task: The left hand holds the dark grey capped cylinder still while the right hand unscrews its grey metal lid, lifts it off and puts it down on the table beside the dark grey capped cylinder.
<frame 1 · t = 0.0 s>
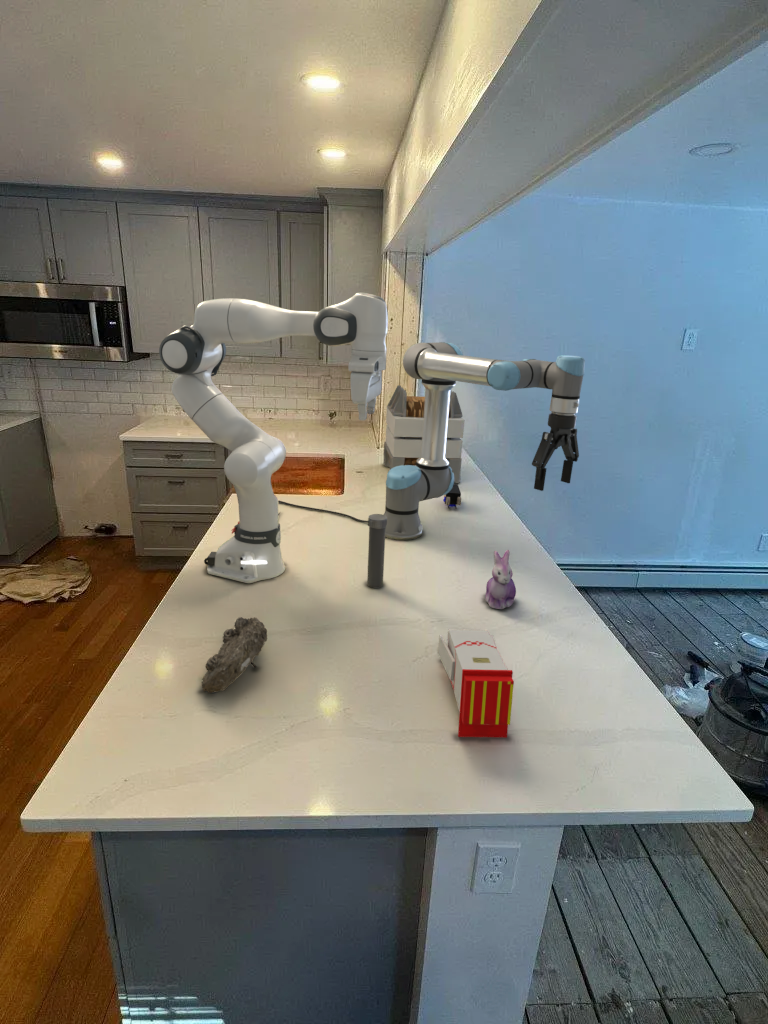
left hand: (366, 416, 147), 48 cm above the counter, tool pointing down, fingers open, 8 cm apart
right hand: (552, 485, 166), 28 cm above the counter, tool pointing down, fingers open, 13 cm apart
figurine: (499, 602, 156), on the counter
lid: (377, 518, 156), point 20 cm above the counter, screwed on, not yet turned
figurine character: (451, 505, 231), on the counter
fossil: (239, 666, 123), on the counter
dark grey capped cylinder: (375, 584, 163), on the counter
toy: (469, 691, 119), on the counter
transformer: (419, 473, 275), on the counter
feather: (278, 516, 211), on the counter
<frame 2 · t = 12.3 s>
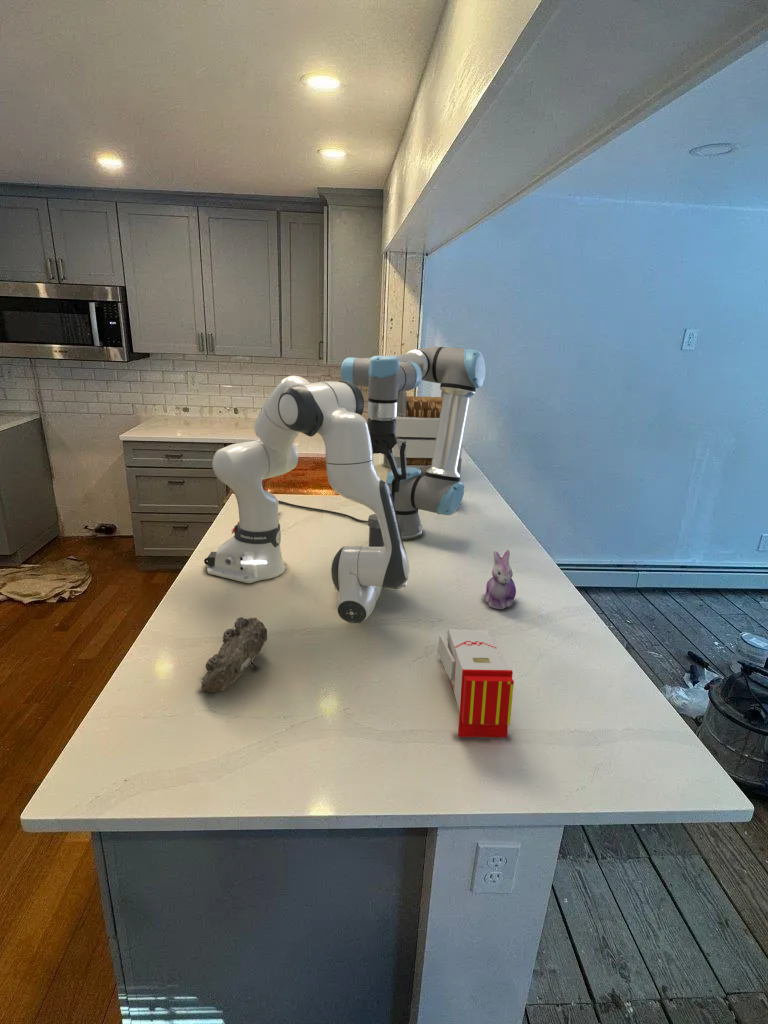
left hand: (376, 562, 161), 7 cm above the counter, tool horizontal, fingers closed on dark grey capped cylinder, 4 cm apart
right hand: (378, 501, 154), 25 cm above the counter, tool pointing down, fingers open, 7 cm apart
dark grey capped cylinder: (375, 584, 163), on the counter, touching left hand
everything else where it was.
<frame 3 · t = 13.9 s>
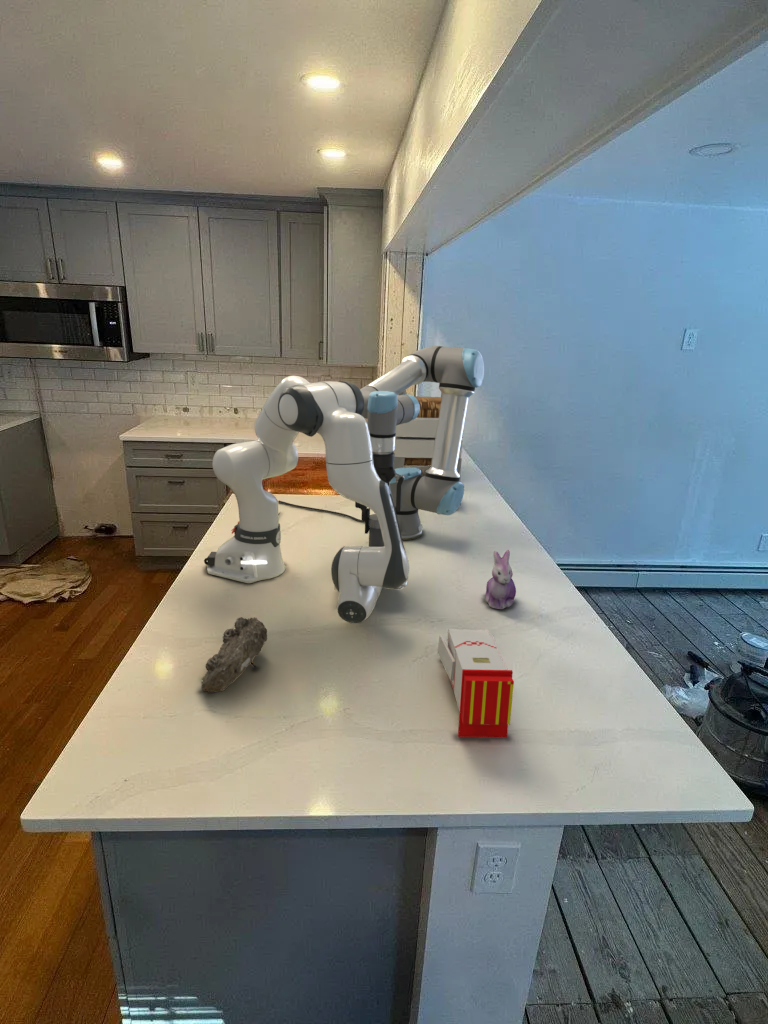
left hand: (376, 562, 161), 7 cm above the counter, tool horizontal, fingers closed on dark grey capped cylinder, 4 cm apart
right hand: (377, 532, 157), 16 cm above the counter, tool pointing down, fingers closed on lid, 5 cm apart
lid: (377, 518, 156), point 20 cm above the counter, screwed on, not yet turned, touching right hand
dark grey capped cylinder: (375, 584, 163), on the counter, touching left hand
everything else where it was.
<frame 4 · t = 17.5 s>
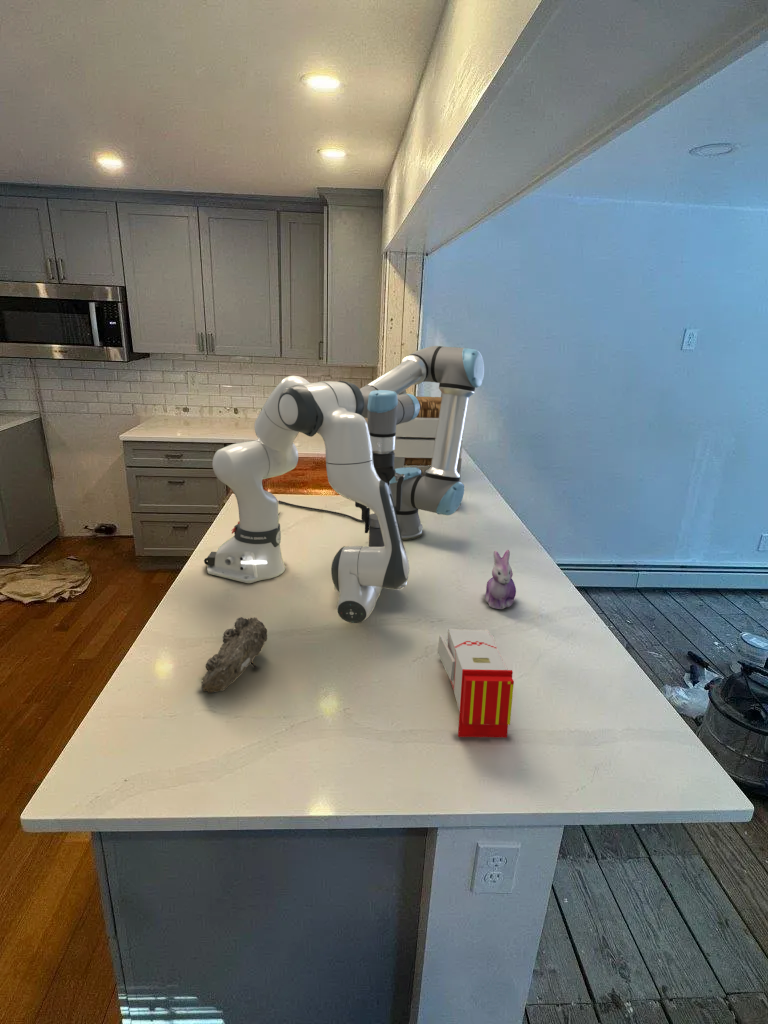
left hand: (376, 562, 161), 7 cm above the counter, tool horizontal, fingers closed on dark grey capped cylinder, 4 cm apart
right hand: (377, 532, 157), 16 cm above the counter, tool pointing down, fingers closed on lid, 5 cm apart
lid: (377, 517, 156), point 20 cm above the counter, turned 125° so far, risen 0.2 cm, still on its thread, touching right hand
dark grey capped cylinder: (375, 584, 163), on the counter, touching left hand
everything else where it was.
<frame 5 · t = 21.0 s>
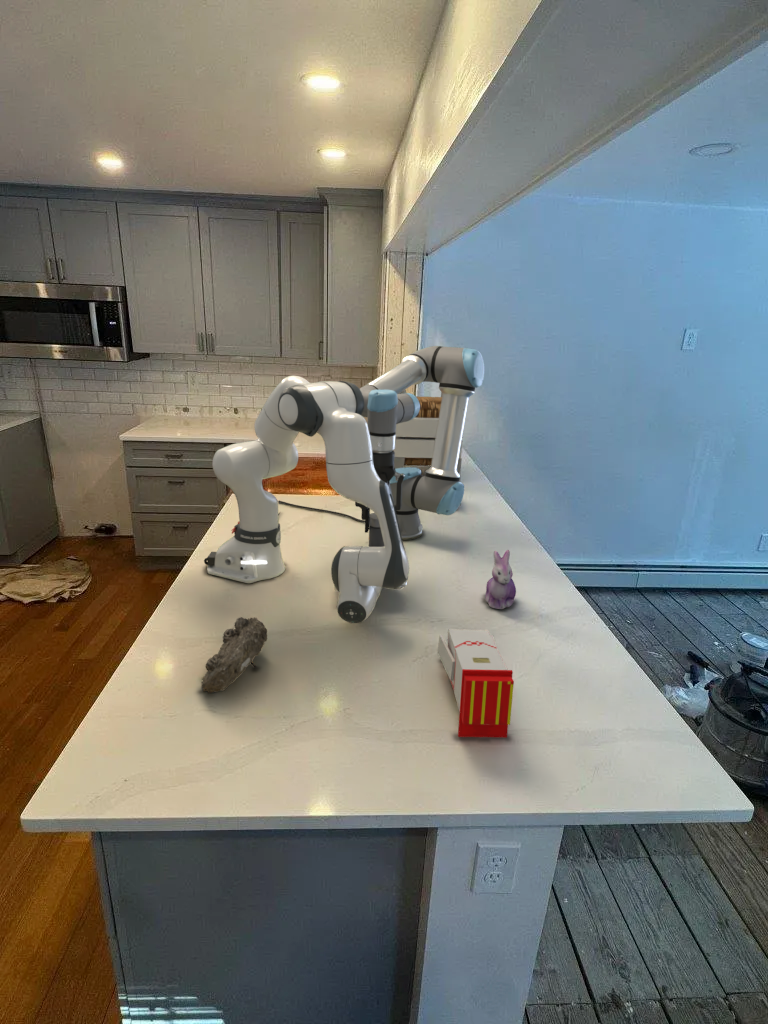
left hand: (376, 562, 161), 7 cm above the counter, tool horizontal, fingers closed on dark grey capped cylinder, 4 cm apart
right hand: (377, 531, 157), 16 cm above the counter, tool pointing down, fingers closed on lid, 5 cm apart
lid: (377, 517, 156), point 21 cm above the counter, turned 250° so far, risen 0.4 cm, still on its thread, touching right hand
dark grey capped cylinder: (375, 584, 163), on the counter, touching left hand
everything else where it was.
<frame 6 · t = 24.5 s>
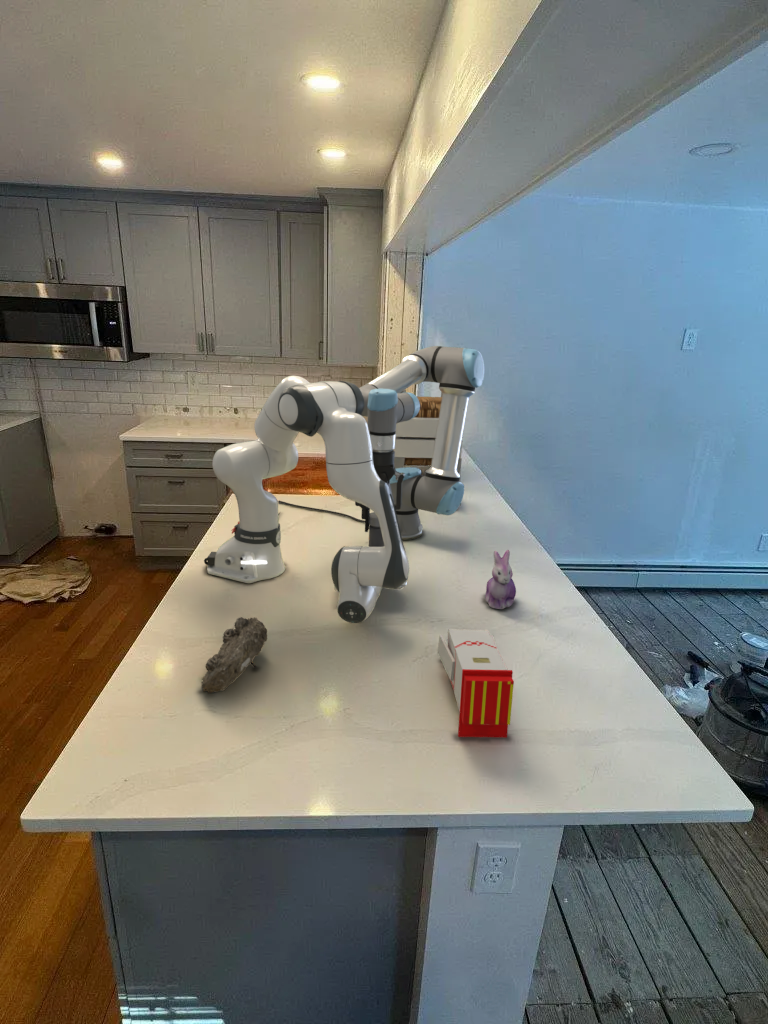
left hand: (376, 562, 161), 7 cm above the counter, tool horizontal, fingers closed on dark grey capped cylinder, 4 cm apart
right hand: (377, 530, 157), 17 cm above the counter, tool pointing down, fingers closed on lid, 5 cm apart
lid: (377, 516, 156), point 21 cm above the counter, turned 375° so far, risen 0.6 cm, still on its thread, touching right hand
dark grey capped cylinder: (375, 584, 163), on the counter, touching left hand
everything else where it was.
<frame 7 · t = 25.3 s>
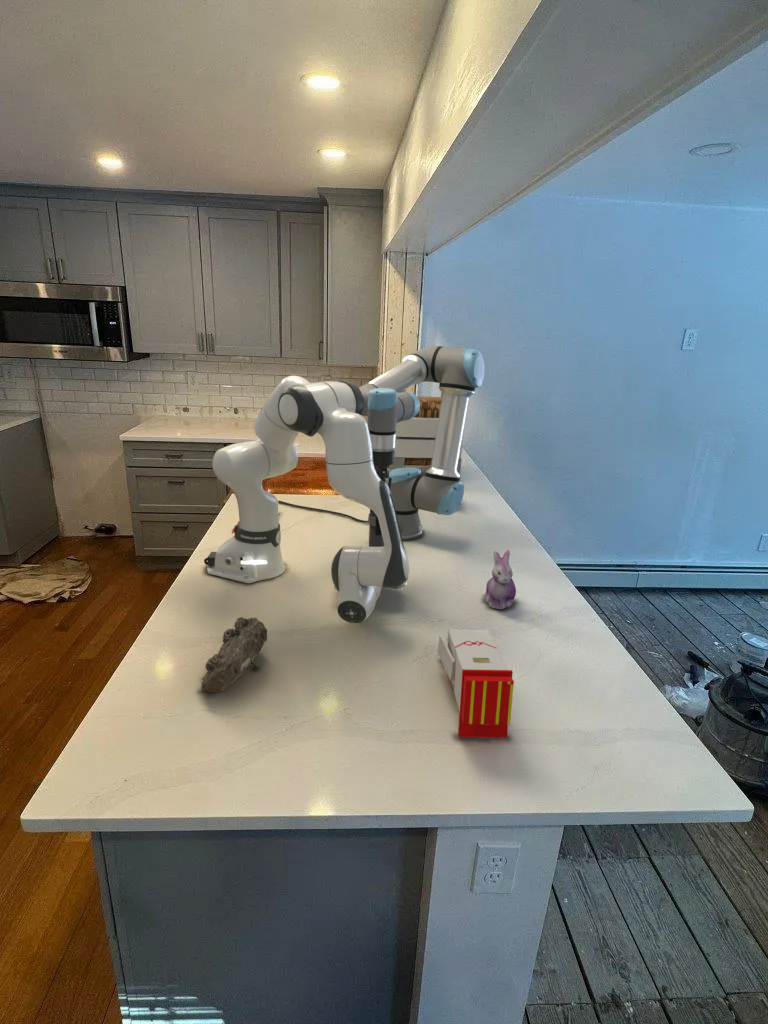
left hand: (376, 562, 161), 7 cm above the counter, tool horizontal, fingers closed on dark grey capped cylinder, 4 cm apart
right hand: (377, 530, 157), 17 cm above the counter, tool pointing down, fingers closed on lid, 5 cm apart
lid: (377, 515, 156), point 21 cm above the counter, off its thread, touching right hand
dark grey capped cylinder: (375, 584, 163), on the counter, touching left hand
everything else where it was.
when the right hand's fingers open (0 cm above the counter, at t = 32.2 s): lid drops 2 cm, point 2 cm above the counter.
when the left hand's fingers open (7 cm above the counter, at t = 32.9 s): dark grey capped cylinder stays where it is, on the counter.
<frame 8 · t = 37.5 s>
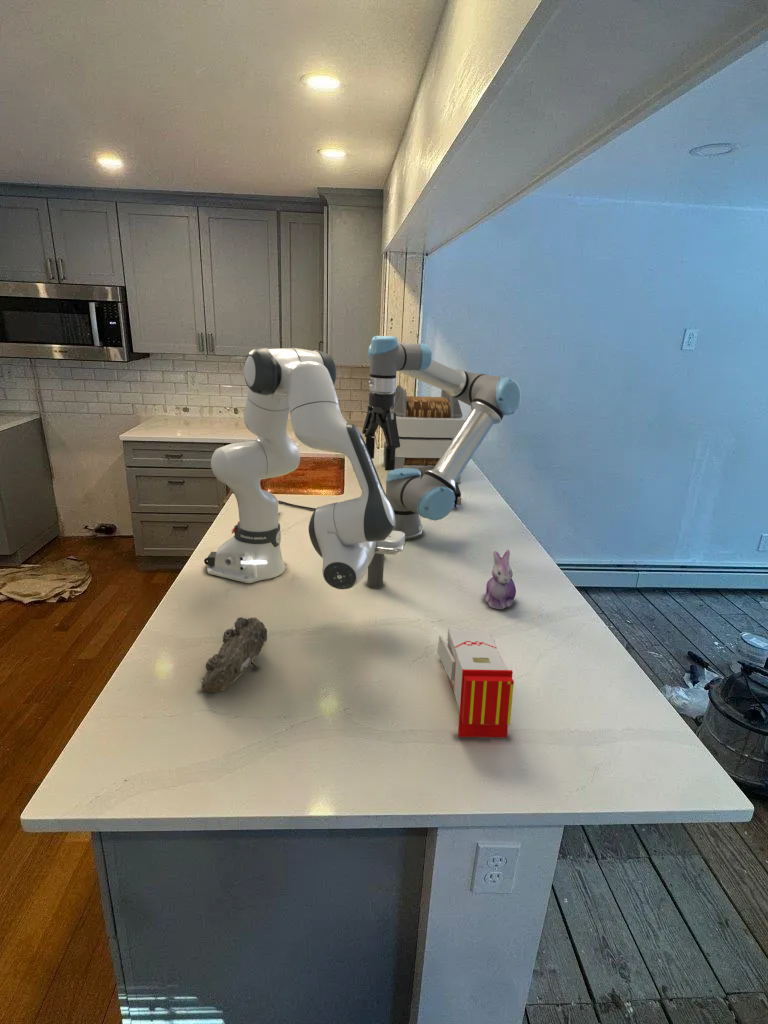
left hand: (369, 527, 145), 22 cm above the counter, tool horizontal, fingers open, 8 cm apart
right hand: (379, 464, 170), 31 cm above the counter, tool pointing down, fingers open, 13 cm apart
lid: (374, 551, 179), point 2 cm above the counter, off its thread
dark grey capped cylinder: (375, 584, 163), on the counter
everything else where it was.
at the end: lid came off its thread; lid point 2.1 cm above the counter; the left hand is holding nothing; the right hand is holding nothing; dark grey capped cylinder tilted 0°; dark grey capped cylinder moved 0.0 cm from its start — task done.
